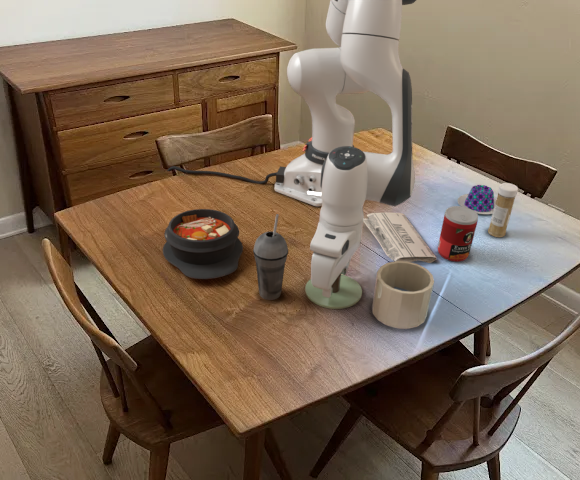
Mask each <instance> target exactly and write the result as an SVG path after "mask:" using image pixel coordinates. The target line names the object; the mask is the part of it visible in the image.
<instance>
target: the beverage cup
mask: <svg viewBox="0 0 580 480" xmlns="http://www.w3.org/2000/svg"><path fill="white" fill-rule="evenodd" d="M278 221H279V214H278V213H276V214H275V219H274V224H273V225H274V226H273V231H271V230H270V231H265V232H263V233H261V234H260V235H259V236H257V238H256V240H255V241H254V245H253V249H252V252H253V256H254V261H255V266H256V275H257V287H258V293H259V296H260V297H261V298H262V299H263V300H267V301H274V300H277V299H279V298H280V297H281V293H282V289H283V281H284V274H285V266H286V262H287V258H288V255H289V247H288V243H287V241H286V239H285V237H284V236H283V235H282V234H280V233H279V232H277V229H278Z"/></svg>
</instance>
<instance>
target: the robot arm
mask: <svg viewBox="0 0 580 480" xmlns="http://www.w3.org/2000/svg"><path fill="white" fill-rule="evenodd" d="M416 2H417V0H329V5H328V10H327V14H326V19H325V31H326V33H327V35H328V37H329V38H330V40H331V41H332V42H333V44H335V45H337V47H323V48H321V47H320V48H317V47H316V48H309V49H304V50H301V51H298V52H295V53H294V54H293V55H292V56H291V57H290V59H289V61H288V63H287V67H286V78H287V81H288V84H289V86H290V87H291V89H292V90H293V91H294V93H296V94H297V95H298V96H299V97H301V98H302V99H303V100H304V102H305V103H306V105H307V106H308V109H309V112H310V115H311V137H310V138H309V139H308V141H307V142H306V143H305V145H304V146H303V147H302V152H304V153H303V154H301V155H299V156H297V157H296V158H294V159H292V160H291V161H290V162H289V163H288V164H287V165H286V166H280V165H279V168H278V169H277V171H275V172H272V173H268V174H267V175H266V176H265V179H264V180H260V181H258V180H254V179H251V178H248V177H245V176H241V175H237V174H236V175H235V174H232V173H231V174H230V173H226V172H221V171H213V170H194V169H193V170H192V169H185V168H181V167H179V166H174V165H173V166H170V167H169V168H167V170H166V171H167V172H172V171H174V170H175V171H178V172H181V173H184V174H191V175H212V176H213V175H214V176H220V177H225V178H230V179H234V180H241V181H244V182H248V183H250V184H251V183H252V184H258V185H265V184H267V183H268V182H269V179H270V178H271V177H275V183H274V187H273V189H274V191H275V192H276V193H278V194H282V195H283V196H287V197H288V198H289V197H290V198H292V199H295V200H298V201H300V202H303V203H305V204H309V205H311V206H313V207H321V208H320V211H319V217H318V218H319V219H318V223H317V227H316V230H315V233H314V234H313V236H312V239H311V241H310V244H309V246H310V247H309V250H310V251H311V252H312V255H311V260H310V261H311V262H310V279H311V283H312V285H313V286H314V287H316V288H319V289H323V291H322V295H323V296H324V297H327V298H330V296H331V295H332V293H333V288H332V287H331V286H332V284H333V283H334V281H335V280H336V279H337V277H338V276H339V274H340V273H341V275H345V276H347V273H348V272H349V267H350V263H351V261H352V257H354V255H355V254H356V253H357V251H358V249H359V248H360V245H361V242H362V237H363V236H362V235H363V228H364V222H363V219H364V218H365V212H364V204H365V202H366V201H368V202H369V201H370V202H376V203H379V204H383V205H387V206H391V207H397V206H399V205H401V204H403V203H405V202H406V201H408V200H409V199H410V198H411V197H412V194H413V192H414V190H415V185H416V173H415V172H416V171H415V165H414V159H413V88H412V87H413V86H412V79H411V75H410V73H409V71H407V69H405V68H404V67H403V65H402V62H401V59H400V51H399V49H400V48H399V46H400V40H401V39H400V38H401V32H402V31H401V30H402V19H403V17H402V16H403V6H407V5H413V4H414V3H416ZM369 92H371V93H372V94H374V95H376V96H378V97H379V98H380V99H382V100H383V101H384V102H385V103H386V104H387V106H388V107H389V109H390V112H391V121H392V122H391V124H392V125H391V127H392V128H391V131H392V132H391V133H392V136H391V137H392V138H391V139H392V150H391V152H390V153H387V154H384V153H379V152H372V151H371V152H370V151H363V150H362V149H360V148H358V147H356V146H355V145H354V135H355V126H356V120H355V117H354V115H353V113H352V112H351V111H350V110H349V109H347V108H346V107H344V106H342V105H340V104H338V103H337V101H336V99H337V96H339V95H356V94H357V95H358V94H366V93H369Z"/></svg>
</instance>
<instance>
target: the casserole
mask: <svg viewBox="0 0 580 480" xmlns="http://www.w3.org/2000/svg"><path fill="white" fill-rule="evenodd" d="M239 236H240V228H239V227H238V225H237V224H236V223H235V221H234V219H233V217H231V216H230V215H229V214H227V213H225V212H223V211H220V210H216V209H212V208H211V209H209V208H198V209H197V208H196V209H190V210H185V211H183V212H181V213H178V214H176V215H175V216H174V217H172V218H171V219H170V221H169V222H168V225H167V227H166V229H165V230H164V239H165V241H166V242H165V243H164V244H163V246H162V255H163V258H164V259H165V260H166V261H167V262H168V263H170V264H171V265H173V266H175V267H176V268H177V269H178V270H179V271H180V272H181V273H182V274H183V275H184V276H185V277H188V278H191V279H196V280H209V279H216V278H221V277H225V276H227V275H230V274H233V273H234V272H235V271H236V270H237V269H238V267H239V260H240V258H241V256H242V254H243V252H244V246H243V242H242V240H241V239H240V238H239Z"/></svg>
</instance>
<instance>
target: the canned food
mask: <svg viewBox="0 0 580 480" xmlns="http://www.w3.org/2000/svg"><path fill="white" fill-rule="evenodd" d="M478 221H479V215H478V213H476V212H475V211H473V210H471V209H469V208H466V207H462V206H460V205H453V206H449V207H448V208H446V209H445V212H444V215H443V220H442V225H441V230H440V233H439V234H440V235H439V240H438V244H437V253H438V255H439V256H440V257H442V258H443V259H445V260H447V261H449V262H454V263H455V262H464V261H466V260H467V259H468V258H469V255H470V253H471V249H472V245H473V242H474V237H475V233H476V229H477V226H478Z"/></svg>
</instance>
